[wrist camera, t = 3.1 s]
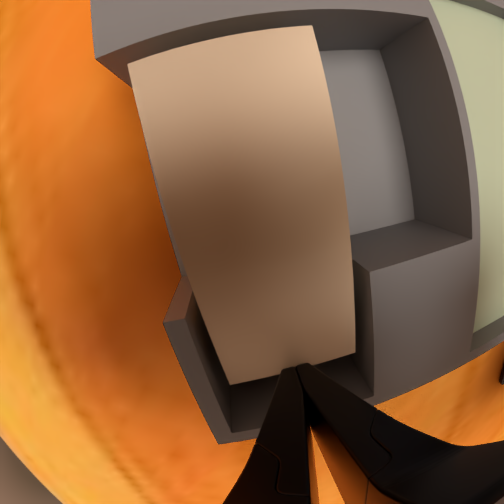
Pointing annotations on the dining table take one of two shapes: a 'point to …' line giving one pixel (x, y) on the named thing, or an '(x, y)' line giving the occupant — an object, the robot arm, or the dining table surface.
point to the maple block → (254, 194)
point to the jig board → (369, 182)
